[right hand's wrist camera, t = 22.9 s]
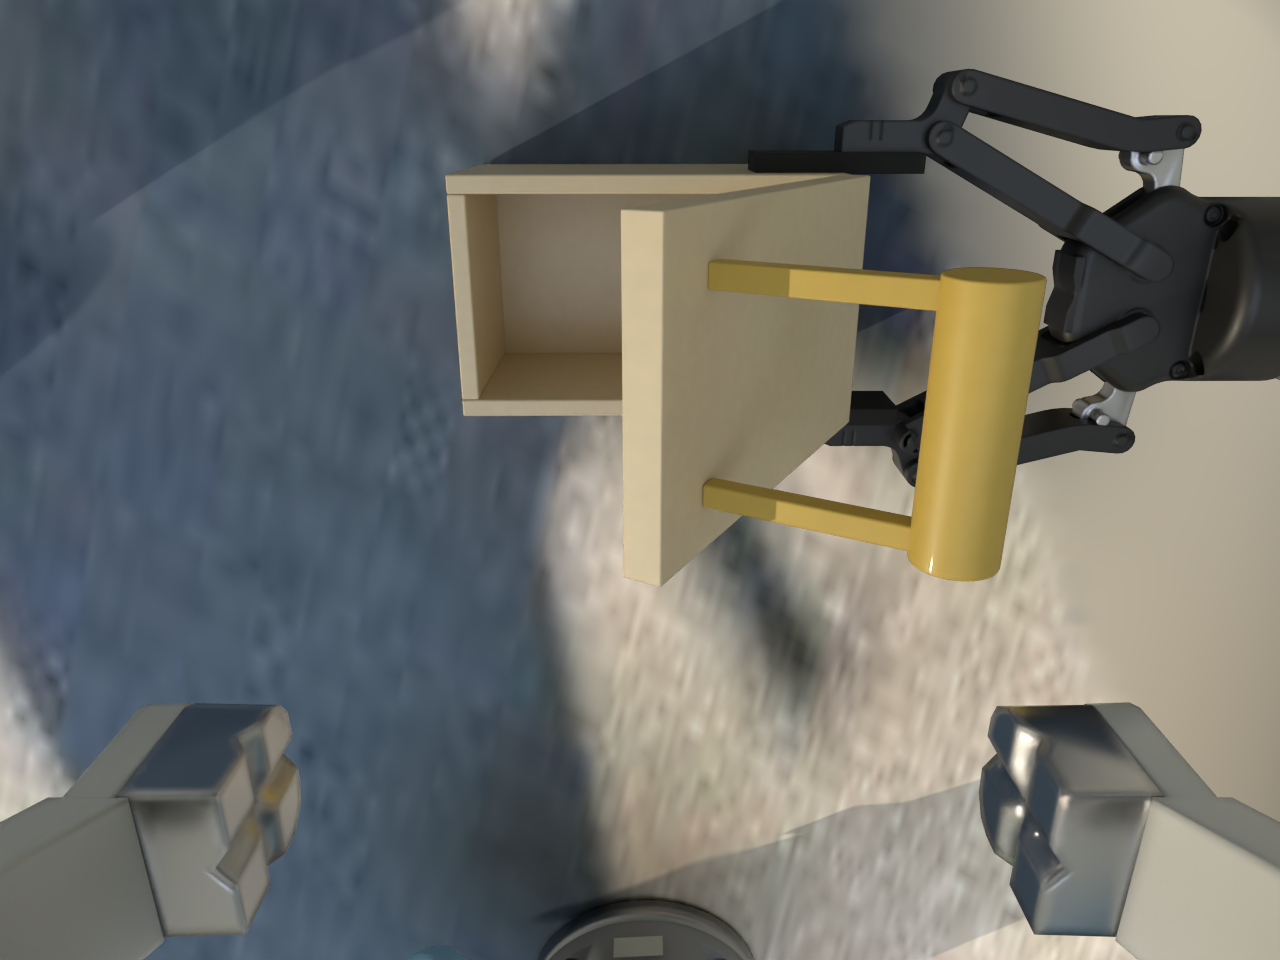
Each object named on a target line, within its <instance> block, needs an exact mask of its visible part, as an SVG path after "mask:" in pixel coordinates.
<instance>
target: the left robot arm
mask: <svg viewBox="0 0 1280 960" xmlns="http://www.w3.org/2000/svg"><path fill="white" fill-rule="evenodd" d="M969 112H971V113H974V114H978V115H981V116H985V117H988V118H991V119H995V120H998V121H1002V122H1005V123H1008V124H1012V125H1015V126H1019V127H1022V128H1025V129H1029V130H1032V131H1036V132H1039V133H1043V134H1046V135H1049V136H1053V137H1056V138H1060V139H1063V140H1066V141H1070V142H1073V143H1077V144H1080V145H1083V146H1087V147H1091V148H1095V149H1101V150H1113V151H1120V152H1119V159H1120V163H1121V166H1122V167H1123V168H1124V169H1126V170H1128V171H1133V172H1136V173H1138V174H1139V175H1140V176H1141V177H1142V180H1143V187H1142V188H1140V189H1138V190H1137V191H1135V192H1134V193H1132V194H1131V195H1129V196H1128V197H1126V198H1125V199H1123V200H1122V201H1120V202H1119V203H1117V204H1116V205H1114V206H1112V207H1111V208H1109V209H1108V210H1106V211H1105V212H1103V213H1102V212H1100V211H1098V210H1096V209H1095V208H1093V207H1091V206H1088V205H1086V204H1084V203H1082V202H1080V201H1078V200H1077V199H1075V198H1073V197H1072V196H1070V195H1069V194H1067V193H1065V192H1064V191H1062V190H1061V189H1059V188H1057V187H1056V186H1054V185H1053V184H1051V183H1049V182H1048V181H1046V180H1045V179H1043V178H1041V177H1040V176H1038V175H1037V174H1035V173H1033V172H1032V171H1030V170H1029V169H1027V168H1025V167H1024V166H1022V165H1021V164H1019V163H1017V162H1016V161H1014V160H1013V159H1011V158H1009V157H1008V156H1006V155H1005V154H1003V153H1001V152H1000V151H998V150H997V149H995V148H993V147H992V146H990V145H989V144H987V143H985V142H984V141H982V140H981V139H979V138H977V137H976V136H974V135H973V134H971V133H969V132H968V131H966V130H964V129H963V128H962V126H963V123H964V121H965V119H966V117H967V115H968V113H969ZM1200 134H1201V123H1200V121H1199V120H1198V119H1197V118H1196V117H1194V116H1190V115H1154V116H1144V117H1132V116H1129V115H1126V114H1122V113H1119V112H1116V111H1112V110H1109V109H1105V108H1102V107H1099V106H1096V105H1092V104H1089V103H1086V102H1082V101H1079V100H1076V99H1072V98H1069V97H1065V96H1062V95H1059V94H1055V93H1052V92H1049V91H1045V90H1042V89H1039V88H1035V87H1032V86H1029V85H1025V84H1022V83H1019V82H1015V81H1012V80H1008V79H1005V78H1002V77H998V76H995V75H992V74H988V73H985V72H982V71H978V70H975V69H964V70H958V71H951V72H946V73H944V74H941V75H940V76H939V77H938V78H937V79H936V81H935V83H934V86H933V95H932V97H931V100H930V102H929V104H928V106H927V108H926V110H925V111H924V112H923V113H922V114H921V115H920V116H919V117H917V118H915V119H913V120H849V121H846V122H844V123H841V124H839V125H837V126H836V133H835V146H834V151H749V154H748V170H750V171H753V172H755V173H847V174H924V170H925V161H926V156H928V157H929V158H931V159H933V160H934V161H936V162H937V163H939V164H941V165H942V166H944V167H946V168H947V169H949V170H950V171H952V172H954V173H955V174H957V175H959V176H960V177H962V178H964V179H965V180H967V181H968V182H970V183H972V184H973V185H975V186H977V187H978V188H980V189H982V190H983V191H985V192H987V193H988V194H990V195H991V196H993V197H995V198H996V199H998V200H999V201H1001V202H1003V203H1004V204H1006V205H1008V206H1009V207H1011V208H1013V209H1014V210H1016V211H1018V212H1019V213H1021V214H1022V215H1024V216H1026V217H1027V218H1029V219H1031V220H1032V221H1034V222H1035V223H1037V224H1038V225H1039V226H1040V227H1041V228H1043V229H1044V230H1046V231H1047V232H1049V233H1051V234H1052V235H1054V236H1056V237H1057V238H1059V239H1060V240H1062V241H1064V242H1065V243H1064V245H1063V246H1062V248H1061V250H1056V251H1055V256H1054V262H1053V278H1054V289H1053V291H1052V294H1051V296H1050V298H1049V300H1048V303H1047V305H1046V311H1045V317H1044V323H1045V324H1047V325H1048V326H1047V327H1045V328H1043V329H1041V330H1039V331H1038V337H1037V343H1036V349H1035V355H1034V362H1033V368H1032V374H1031V380H1030V386H1029V392H1028V394H1029V393H1031V392H1033V391H1035V390H1037V389H1039V388H1041V387H1043V386H1045V385H1047V384H1050V383H1055V382H1064V381H1067V380H1069V379H1072V378H1074V377H1076V376H1078V375H1080V374H1082V373H1084V372H1086V371H1088V370H1090V371H1091V372H1093V373H1094V374H1095V375H1096V376H1097V377H1099V378H1100V379H1101V380H1102V381H1104V382H1105V383H1104V385H1103V388H1102V389H1101V390H1100V391H1099V392H1098V393H1097V394H1095V395H1093V396H1088V397H1083V398H1081V399H1076V400H1075V401H1074V402H1073V404H1072V407H1073V408H1058V409H1050V410H1044V411H1040V412H1036V413H1031V414H1027V415H1025V417H1024V423H1023V429H1022V435H1021V442H1020V448H1019V454H1018V460H1017V465H1019V464H1023V463H1027V462H1032V461H1036V460H1040V459H1044V458H1049V457H1053V456H1057V455H1061V454H1065V453H1069V452H1074V451H1078V450H1083V451H1095V452H1106V453H1123V452H1126V451H1128V450H1129V449H1130V448H1131V447H1132V446H1133V444H1134V442H1135V435H1134V432H1133V431H1132V430H1131V429H1130V428H1128V427H1126V423H1127V420H1128V417H1129V413H1130V410H1131V407H1132V404H1133V400H1134V397H1135V394H1136V392H1137V391H1141V390H1144V389H1146V388H1148V387H1150V386H1152V385H1154V384H1156V383H1160V382H1163V381H1172V380H1173V381H1262V380H1270V379H1274V378H1276V379H1279V380H1280V197H1197V196H1195V195H1193V194H1191V193H1190V192H1188V191H1187V190H1186V189H1184V188H1182V187H1180V180H1181V172H1182V163H1183V155H1184V149H1185V148H1188V147H1190V146H1192V145H1193V144H1194V143H1196V141H1197V140H1198V138H1199V137H1200ZM926 394H927V391H925V392H923V393H921V394H918V395H916V396H914V397H912V398H910V399H908V400H906V401H904V402H902V403H900V404H898V405H895V404H894V403H893V402H892V401H891V400H890V399H889V398H888V396H887V395H886V394H885V393H884V392H883V391H852V392H851V403H850V415H849V422H848V423H847V424H846V425H845V426H844V427H843V428H841V429H840V430H839V431H838V432H837V433H836V434H835V435H833V436H832V437H831V438H830V439H829V440H828V441H827V442H825V443H824V444H826V445H829V446H852V445H853V446H888V447H890V448H891V450H892V453H893V462H894V464H895V465H896V467H897V468H898V469H899V471H900V472H901V473H902V475H903V476H904V477H905V479H906V480H907V482H908V483H909V484H910V485H911V486H913V487H915V486H916V477H917V469H918V461H919V452H920V444H921V436H922V427H923V419H924V410H925V402H926ZM406 960H471V959H470V958H468V957H467V956H465V955H464V954H462V953H461V952H459V951H458V950H456V949H454V948H452V947H449V946H433V947H429V948H426V949H424V950H421V951H419V952H417V953H416V954H414V955H412V956H411V957H409V958H408V959H406ZM538 960H754V959H753V956H752V954H751V952H750V950H749V949H748V947H747V945H746V944H745V943H744V941H743V940H742V939H741V938H740V937H739V935H738V934H737V933H736V932H735V931H734V930H732V929H731V928H730V927H729V926H728V925H726V924H725V923H723V922H722V921H721V920H719V919H717V918H715V917H714V916H712V915H710V914H708V913H706V912H704V911H701V910H699V909H696V908H693V907H690V906H687V905H683V904H679V903H674V902H668V901H659V900H633V901H625V902H619V903H613V904H609V905H606V906H602V907H599V908H596V909H594V910H591V911H589V912H586V913H584V914H582V915H580V916H578V917H577V918H575V919H573V920H572V921H570V922H569V923H567V924H566V925H564V926H563V927H562V928H561V929H560V930H558V931H557V932H556V933H555V934H554V935H553V936H552V937H551V939H550V940H549V941H548V942H547V944H546V945H545V947H544V948H543V950H542V952H541V953H540V956H539V958H538Z"/></svg>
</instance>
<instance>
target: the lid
mask: <svg viewBox="0 0 1280 960" xmlns="http://www.w3.org/2000/svg"><path fill="white" fill-rule="evenodd" d="M869 187H870V176H869V175H836V176H830V177H823V178H817V179H810V180H804V181H797V182H791V183H784V184H778V185H771V186H765V187H759V188H752V189H746V190H739V191H733V192H726V193H720V194H713V195H707V196H700V197H694V198H687V199H681V200H674V201H668V202H661V203H655V204H649V205H642V206H636V207H629V208H623V209H621V291H622V410H623V529H624V577H625V578H629V579H633V580H636V581H640V582H644V583H648V584H651V585H655V586H659V587H661V586H662V585H663V584H665V583H666V582H667V581H668V580H669V579H670V578H671V577H673V576H674V575H675V574H676V573H677V572H678V571H679V570H681V569H682V568H683V567H684V566H685V565H686V564H687V563H689V562H690V561H691V560H692V559H693V558H694V557H695V556H697V555H698V554H699V553H700V552H701V551H702V550H703V549H705V548H706V547H707V546H708V545H709V544H710V543H711V542H713V541H714V540H715V539H716V538H717V537H718V536H719V535H720V534H722V533H723V532H724V531H725V530H726V529H727V528H728V527H730V526H731V525H732V524H733V523H734V522H735V521H736V520H738V519H739V518H740V517H741V516H742V515H743V516H748V517H752V518H757V519H762V520H766V521H771V522H775V523H780V524H785V525H789V526H794V527H799V528H803V529H808V530H813V531H817V532H822V533H826V534H831V535H836V536H840V537H845V538H850V539H854V540H859V541H864V542H868V543H873V544H877V545H882V546H887V547H891V548H896V549H901V550H905V551H908V553H907V555H908V559H909V561H910V562H911V564H913V565H914V566H915V567H916V568H918V569H919V570H921V571H923V572H925V573H927V574H930V575H932V576H935V577H939V578H943V579H948V580H954V581H979V580H984V579H988V578H990V577H992V576H994V575H995V574H996V573H997V572H998V571H999V569H1000V565H1001V558H1002V552H1003V546H1004V540H1005V534H1006V528H1007V522H1008V515H1009V509H1010V503H1011V497H1012V491H1013V485H1014V478H1015V472H1016V466H1017V460H1018V454H1019V448H1020V442H1021V435H1022V429H1023V423H1024V417H1025V411H1026V405H1027V398H1028V392H1029V386H1030V380H1031V374H1032V368H1033V362H1034V355H1035V349H1036V343H1037V337H1038V331H1039V325H1040V318H1041V312H1042V306H1043V300H1044V294H1045V288H1046V281H1047V280H1046V277H1044V276H1043V275H1040V274H1037V273H1034V272H1028V271H1023V270H1015V269H1004V268H985V267H969V268H955V269H949V270H946V271H943V272H942V273H941V275H929V274H916V273H903V272H889V271H876V270H863V269H862V267H863V256H864V244H865V233H866V221H867V210H868V199H869ZM859 304H867V305H878V306H889V307H899V308H910V309H921V310H931V311H936V319H935V327H934V335H933V344H932V352H931V360H930V369H929V377H928V385H927V394H926V402H925V410H924V419H923V427H922V436H921V444H920V452H919V461H918V469H917V477H916V486H915V494H914V502H913V511H912V517H910V516H905V515H900V514H895V513H890V512H885V511H880V510H875V509H870V508H865V507H860V506H855V505H849V504H844V503H839V502H834V501H829V500H824V499H819V498H814V497H809V496H804V495H799V494H794V493H789V492H784V491H779V490H774V489H773V488H774V487H775V486H776V485H778V484H779V483H780V482H781V481H782V480H783V479H784V478H786V477H787V476H788V475H789V474H790V473H791V472H792V471H793V470H795V469H796V468H797V467H798V466H799V465H800V464H801V463H803V462H804V461H805V460H806V459H807V458H808V457H809V456H811V455H812V454H813V453H814V452H815V451H816V450H817V449H819V448H820V447H821V446H822V445H823V444H824V443H825V442H827V441H828V440H829V439H830V438H831V437H832V436H833V435H835V434H836V433H837V432H838V431H839V430H840V429H841V428H843V427H844V426H845V425H846V424H847V423H848V422H849V415H850V403H851V392H852V381H853V369H854V358H855V346H856V335H857V324H858V312H859Z"/></svg>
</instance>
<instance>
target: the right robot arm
mask: <svg viewBox="0 0 1280 960" xmlns="http://www.w3.org/2000/svg"><path fill="white" fill-rule="evenodd" d="M291 738H292V732H291V727H290V723H289V718H288V713H287V711H286V710H285V709H283V708H282V707H281V706H280V705H254V704H207V703H195V704H190V703H151V704H148V705H146V706H143V707H140V708H139V709H138V710H137V712H136V713H135V714H134V715H133V716H132V717H131V719H130V720H129V721H128V722H127V723H126V724H125V726H124V727H123V728H122V729H121V730H120V731H119V732H118V734H117V735H116V736H115V737H114V738H113V739H112V741H111V742H110V743H109V744H108V745H107V746H106V748H105V749H104V750H103V751H102V752H101V753H100V755H99V756H98V757H97V758H96V759H95V760H94V761H93V763H92V764H91V765H90V766H89V767H88V768H87V770H86V771H85V772H84V773H83V774H82V775H81V777H80V778H79V779H78V780H77V781H76V782H75V783H74V785H73V786H72V787H71V788H70V789H69V790H68V792H67V793H66V794H65V795H64V796H63V797H60V798H46V799H44V800H42V801H41V802H39V803H37V804H35V805H33V806H31V807H29V808H27V809H25V810H23V811H21V812H19V813H17V814H15V815H13V816H12V817H10V818H8V819H6V820H4V821H2V822H0V960H143V959H144V958H145V957H147V956H148V955H149V954H150V953H151V952H152V951H154V950H155V949H156V948H157V947H158V946H159V945H161V944H162V943H163V942H164V937H172V936H206V935H241V934H246V933H247V931H248V929H249V927H250V925H251V923H252V921H253V919H254V917H255V915H256V913H257V911H258V909H259V907H260V905H261V903H262V900H263V898H264V896H265V894H266V892H267V890H268V888H269V886H270V880H269V874H268V869H267V866H268V865H270V864H271V863H272V862H274V861H275V860H277V859H278V858H279V857H281V856H282V855H283V854H285V853H286V851H287V849H288V847H289V844H290V842H291V840H292V838H293V836H294V834H295V830H296V825H297V821H298V816H299V811H300V803H301V785H300V779H299V772H298V768H297V767H296V766H295V765H294V764H293V763H292V762H291V761H290V760H289V759H288V758H287V757H286V756H285V755H284V754H283V752H284V750H285V748H286V747H287V745H288V743H289V741H290V739H291ZM988 738H989V739H990V741H991V743H992V745H993V747H994V748H995V750H996V752H997V754H996V755H995V756H994V757H993V758H992V759H991V760H990V761H989V762H988V763H987V764H986V765H985V766H984V767H983V768H982V773H981V781H980V788H979V799H980V811H981V819H982V822H983V826H984V829H985V833H986V836H987V838H988V840H989V842H990V845H991V847H992V849H993V851H994V853H995V854H997V855H998V856H999V857H1001V858H1002V859H1003V860H1005V861H1006V862H1008V863H1009V864H1010V865H1012V866H1013V869H1012V874H1011V880H1010V886H1011V888H1012V890H1013V892H1014V894H1015V896H1016V898H1017V900H1018V902H1019V904H1020V907H1021V909H1022V911H1023V913H1024V915H1025V917H1026V919H1027V921H1028V923H1029V925H1030V927H1031V929H1032V931H1033V933H1034V934H1037V935H1072V936H1108V937H1116V940H1115V941H1116V942H1118V943H1119V944H1120V945H1121V946H1122V947H1123V948H1125V949H1126V950H1127V951H1128V952H1129V953H1130V954H1132V955H1133V956H1134V957H1135V958H1136V959H1137V960H1280V822H1278V821H1276V820H1274V819H1272V818H1270V817H1268V816H1266V815H1265V814H1263V813H1261V812H1259V811H1257V810H1255V809H1253V808H1251V807H1249V806H1247V805H1245V804H1243V803H1241V802H1239V801H1237V800H1236V799H1234V798H1220V797H1217V796H1216V795H1215V794H1214V793H1213V792H1212V790H1211V789H1210V788H1209V787H1208V786H1207V785H1206V784H1205V782H1204V781H1203V780H1202V779H1201V778H1200V777H1199V775H1198V774H1197V773H1196V772H1195V771H1194V770H1193V769H1192V767H1191V766H1190V765H1189V764H1188V763H1187V762H1186V760H1185V759H1184V758H1183V757H1182V756H1181V755H1180V753H1179V752H1178V751H1177V750H1176V749H1175V748H1174V746H1173V745H1172V744H1171V743H1170V742H1169V741H1168V740H1167V738H1166V737H1165V736H1164V735H1163V734H1162V733H1161V731H1160V730H1159V729H1158V728H1157V727H1156V726H1155V724H1154V723H1153V722H1152V721H1151V720H1150V719H1149V717H1148V716H1147V715H1146V714H1145V713H1144V712H1143V711H1142V709H1141V708H1139V707H1137V706H1135V705H1133V704H1131V703H1098V704H1085V705H1048V706H997V707H996V709H995V711H994V713H993V715H992V717H991V721H990V726H989V731H988Z"/></svg>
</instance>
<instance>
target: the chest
mask: <svg viewBox="0 0 1280 960" xmlns="http://www.w3.org/2000/svg"><path fill="white" fill-rule="evenodd" d="M836 175H850V174H847V173H755V172H753V171H750V170H748V164H482V165H479V166H475V167H472V168H468V169H465V170H461V171H458V172H454V173H451V174H447V175H446V177H445V178H446V191H447V193H448V195H447V204H448V217H449V230H450V244H451V257H452V270H453V283H454V296H455V309H456V322H457V336H458V349H459V362H460V375H461V388H462V398H463V414H464V415H465V416H621V415H623V410H622V291H621V209H623V208H629V207H636V206H642V205H649V204H655V203H661V202H668V201H674V200H681V199H687V198H694V197H700V196H707V195H713V194H720V193H726V192H733V191H739V190H746V189H752V188H759V187H765V186H771V185H778V184H784V183H791V182H797V181H804V180H810V179H817V178H823V177H830V176H836Z"/></svg>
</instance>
